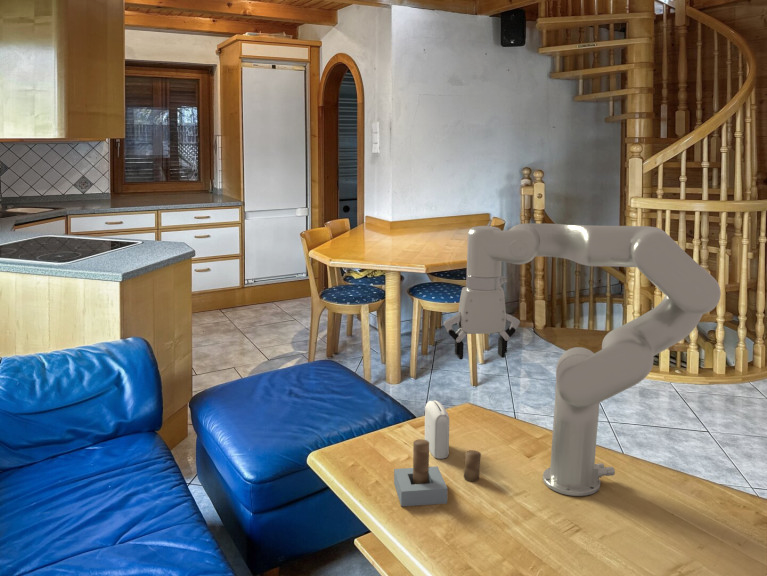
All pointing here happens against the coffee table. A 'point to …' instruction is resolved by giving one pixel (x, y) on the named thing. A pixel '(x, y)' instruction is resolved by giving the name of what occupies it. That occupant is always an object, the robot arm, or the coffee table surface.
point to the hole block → (420, 488)
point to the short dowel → (472, 465)
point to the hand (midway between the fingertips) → (480, 356)
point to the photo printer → (437, 429)
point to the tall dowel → (420, 461)
